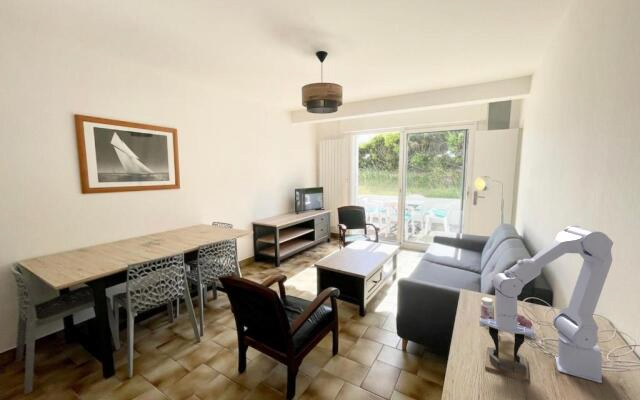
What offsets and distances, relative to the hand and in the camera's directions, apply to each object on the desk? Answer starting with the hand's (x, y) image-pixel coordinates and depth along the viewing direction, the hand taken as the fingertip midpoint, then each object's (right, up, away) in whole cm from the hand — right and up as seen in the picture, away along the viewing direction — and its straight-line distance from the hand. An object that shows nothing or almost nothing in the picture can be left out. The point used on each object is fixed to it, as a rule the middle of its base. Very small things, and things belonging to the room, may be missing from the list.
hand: (506, 352), depth 86 cm
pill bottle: (+11, -1, +27) cm, 29 cm away
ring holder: (0, -4, 0) cm, 4 cm away
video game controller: (+16, -2, +18) cm, 25 cm away
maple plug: (0, -2, 0) cm, 2 cm away
